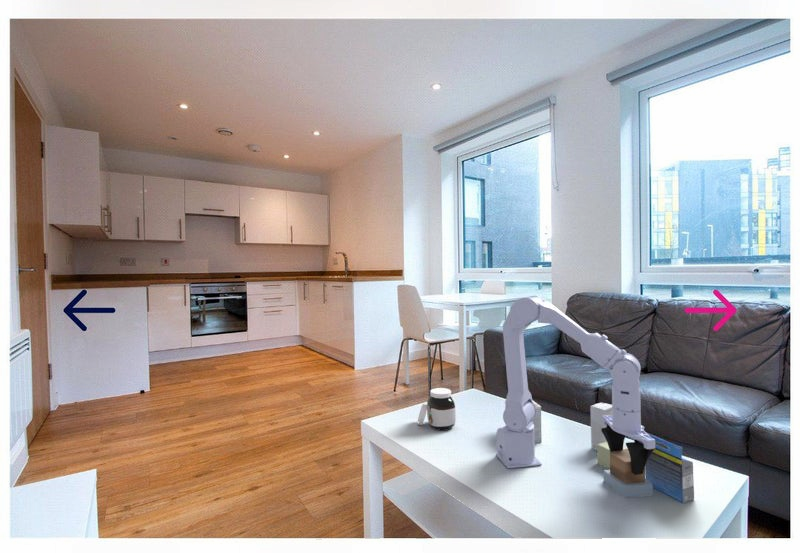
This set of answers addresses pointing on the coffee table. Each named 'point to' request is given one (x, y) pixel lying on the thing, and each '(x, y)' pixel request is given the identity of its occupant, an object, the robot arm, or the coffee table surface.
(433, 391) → the spread jar
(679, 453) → the label tape box
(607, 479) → the base slab
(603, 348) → the robot arm
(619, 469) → the walnut cube
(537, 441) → the light bulb box
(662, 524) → the coffee table surface
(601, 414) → the skincare box
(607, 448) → the olive cube
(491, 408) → the coffee table surface
